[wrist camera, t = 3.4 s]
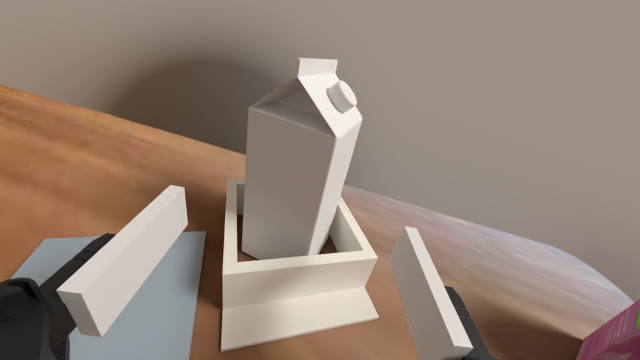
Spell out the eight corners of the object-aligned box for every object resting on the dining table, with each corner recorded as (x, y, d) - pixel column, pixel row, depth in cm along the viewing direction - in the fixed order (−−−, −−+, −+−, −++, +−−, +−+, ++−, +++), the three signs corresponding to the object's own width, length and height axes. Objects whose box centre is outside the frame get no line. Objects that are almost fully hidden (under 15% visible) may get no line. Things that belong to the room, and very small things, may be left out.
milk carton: (240, 252, 25) (250, 45, 15) (277, 216, 31) (300, 50, 21) (301, 283, 23) (354, 72, 14) (327, 239, 29) (377, 69, 20)
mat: (46, 242, 22) (44, 239, 21) (206, 233, 26) (205, 230, 26) (-129, 448, 11) (-136, 446, 11) (187, 375, 16) (186, 373, 15)
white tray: (227, 195, 32) (227, 166, 30) (318, 195, 37) (324, 169, 35) (221, 351, 17) (220, 316, 15) (377, 318, 22) (395, 287, 19)
